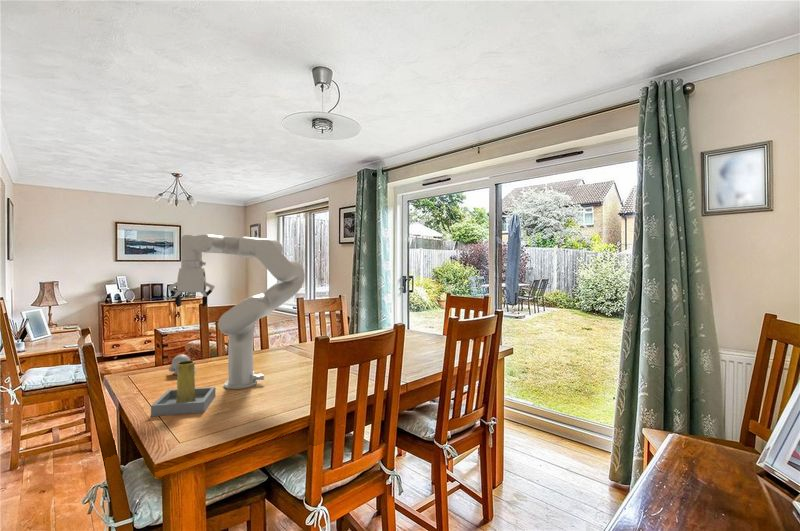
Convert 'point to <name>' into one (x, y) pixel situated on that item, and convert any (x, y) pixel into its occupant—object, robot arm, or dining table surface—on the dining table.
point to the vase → (185, 382)
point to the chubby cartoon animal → (179, 359)
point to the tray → (183, 403)
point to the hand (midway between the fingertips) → (191, 306)
